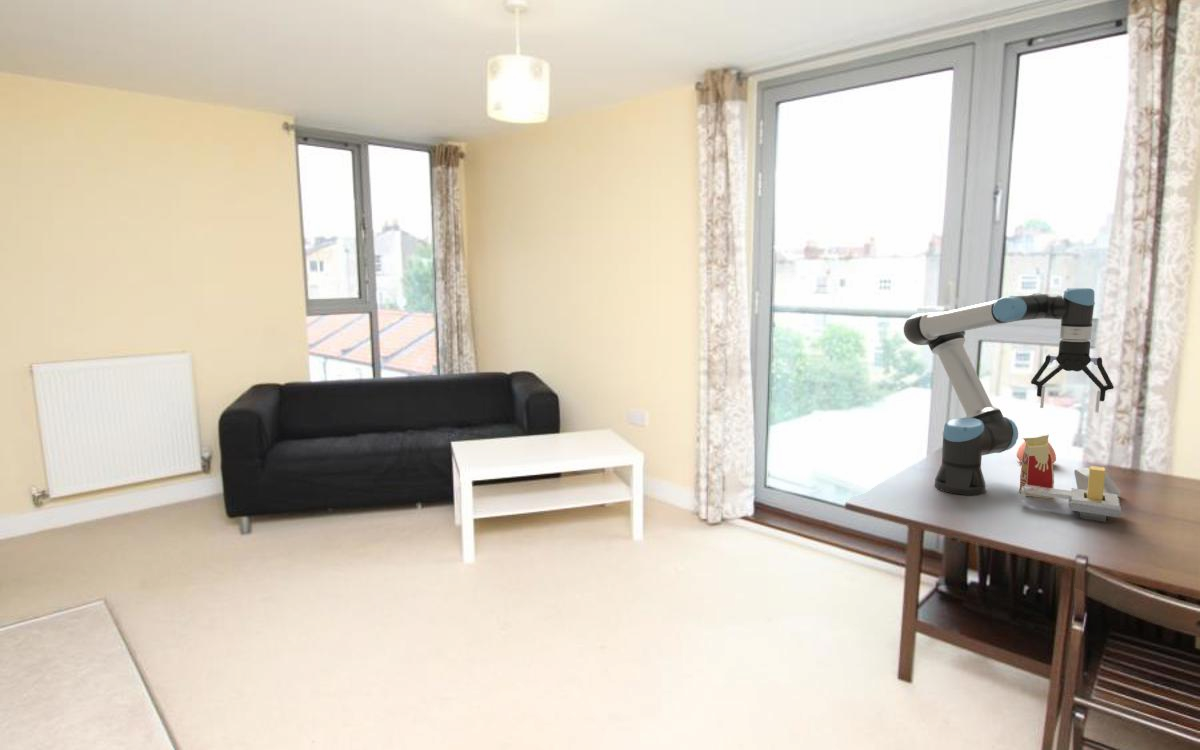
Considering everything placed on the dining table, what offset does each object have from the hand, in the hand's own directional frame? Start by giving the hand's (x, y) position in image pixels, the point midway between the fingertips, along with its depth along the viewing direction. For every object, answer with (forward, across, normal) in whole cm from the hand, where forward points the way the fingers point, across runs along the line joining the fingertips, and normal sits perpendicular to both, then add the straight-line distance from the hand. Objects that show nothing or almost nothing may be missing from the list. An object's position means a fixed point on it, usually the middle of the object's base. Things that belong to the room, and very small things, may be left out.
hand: (1068, 409), depth 198 cm
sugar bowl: (+31, -8, +45) cm, 55 cm away
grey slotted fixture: (+31, +2, -6) cm, 31 cm away
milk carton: (+31, -7, +9) cm, 33 cm away
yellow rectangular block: (+28, +8, -6) cm, 29 cm away
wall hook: (+31, +10, +15) cm, 36 cm away
